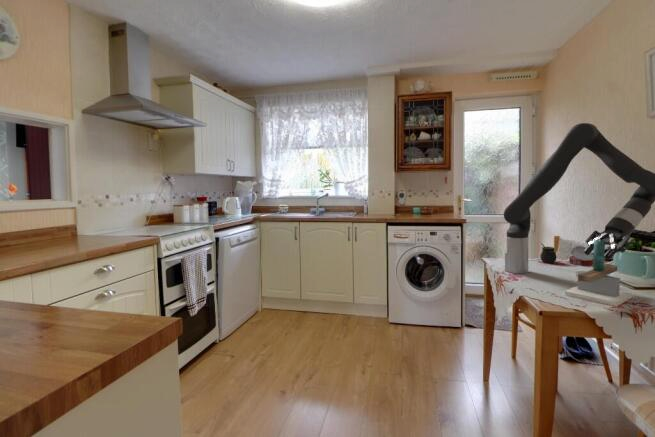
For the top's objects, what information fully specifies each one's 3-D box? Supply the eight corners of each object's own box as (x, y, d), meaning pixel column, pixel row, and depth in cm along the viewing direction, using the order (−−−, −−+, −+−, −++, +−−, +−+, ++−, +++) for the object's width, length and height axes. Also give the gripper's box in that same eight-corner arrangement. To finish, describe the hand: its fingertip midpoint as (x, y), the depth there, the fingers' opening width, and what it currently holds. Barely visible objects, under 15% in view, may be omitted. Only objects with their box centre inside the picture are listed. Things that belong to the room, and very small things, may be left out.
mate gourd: (552, 264, 173) (552, 245, 172) (537, 262, 180) (536, 244, 179) (559, 262, 177) (559, 243, 176) (543, 260, 183) (543, 242, 182)
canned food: (589, 271, 174) (601, 255, 170) (585, 273, 167) (597, 257, 163) (566, 258, 181) (577, 243, 177) (561, 260, 174) (573, 244, 170)
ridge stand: (564, 294, 131) (565, 274, 130) (581, 287, 138) (581, 268, 137) (616, 306, 117) (617, 283, 116) (632, 297, 124) (632, 276, 124)
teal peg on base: (578, 280, 122) (579, 244, 121) (605, 268, 135) (606, 236, 133) (590, 282, 119) (591, 246, 118) (617, 270, 132) (618, 237, 130)
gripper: (600, 214, 132) (572, 246, 132) (637, 218, 118) (606, 253, 118) (611, 227, 134) (584, 258, 133) (650, 232, 119) (620, 266, 119)
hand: (595, 255), depth 126 cm, fingers open, 8 cm apart
